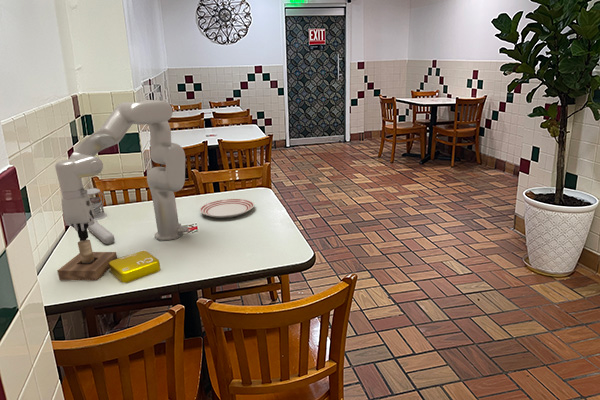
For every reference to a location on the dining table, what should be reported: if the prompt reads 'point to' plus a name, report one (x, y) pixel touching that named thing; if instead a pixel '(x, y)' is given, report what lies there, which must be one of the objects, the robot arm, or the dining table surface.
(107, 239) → the tube
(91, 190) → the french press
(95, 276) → the board
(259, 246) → the dining table surface
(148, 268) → the element tile
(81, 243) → the peg
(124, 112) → the robot arm
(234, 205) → the dinner plate
